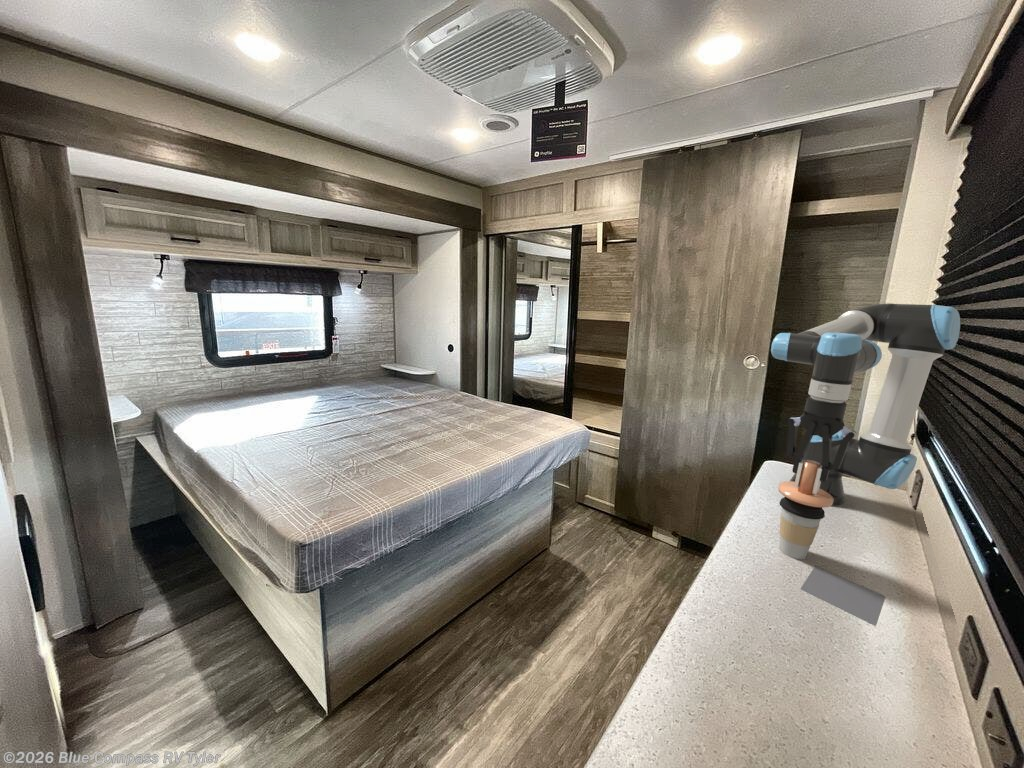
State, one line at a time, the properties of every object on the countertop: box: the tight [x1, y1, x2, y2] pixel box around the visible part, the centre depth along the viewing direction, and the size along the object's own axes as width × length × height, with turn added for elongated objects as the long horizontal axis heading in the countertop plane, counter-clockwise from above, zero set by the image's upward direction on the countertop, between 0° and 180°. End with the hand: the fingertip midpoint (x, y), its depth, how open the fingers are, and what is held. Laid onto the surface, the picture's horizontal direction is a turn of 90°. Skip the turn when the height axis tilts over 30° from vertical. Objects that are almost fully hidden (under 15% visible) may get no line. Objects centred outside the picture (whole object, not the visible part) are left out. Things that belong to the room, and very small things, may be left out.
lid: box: [777, 460, 834, 508], centre depth 99 cm, size 11×11×9 cm
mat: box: [800, 565, 886, 627], centre depth 90 cm, size 13×13×1 cm
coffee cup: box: [778, 496, 826, 560], centre depth 103 cm, size 9×9×15 cm
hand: (806, 488), depth 100 cm, fingers closed on lid, 3 cm apart
